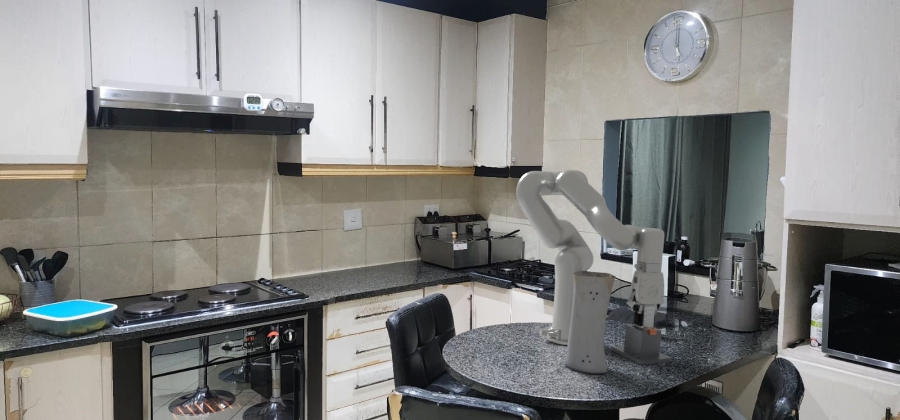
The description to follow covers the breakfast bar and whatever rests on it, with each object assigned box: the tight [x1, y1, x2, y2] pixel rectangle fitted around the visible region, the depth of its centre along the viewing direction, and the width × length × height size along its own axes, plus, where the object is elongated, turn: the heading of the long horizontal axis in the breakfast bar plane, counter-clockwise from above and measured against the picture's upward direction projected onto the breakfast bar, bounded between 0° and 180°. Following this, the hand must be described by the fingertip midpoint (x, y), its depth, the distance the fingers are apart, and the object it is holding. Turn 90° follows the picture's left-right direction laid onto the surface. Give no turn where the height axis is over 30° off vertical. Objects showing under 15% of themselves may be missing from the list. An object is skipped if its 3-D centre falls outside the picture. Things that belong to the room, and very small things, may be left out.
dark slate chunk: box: [607, 307, 669, 330], centre depth 238 cm, size 15×22×5 cm
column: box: [634, 304, 655, 331], centre depth 191 cm, size 4×4×16 cm
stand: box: [611, 324, 673, 366], centre depth 192 cm, size 12×14×10 cm
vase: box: [564, 270, 616, 375], centre depth 177 cm, size 13×14×28 cm
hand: (643, 324), depth 191 cm, fingers closed on column, 4 cm apart
